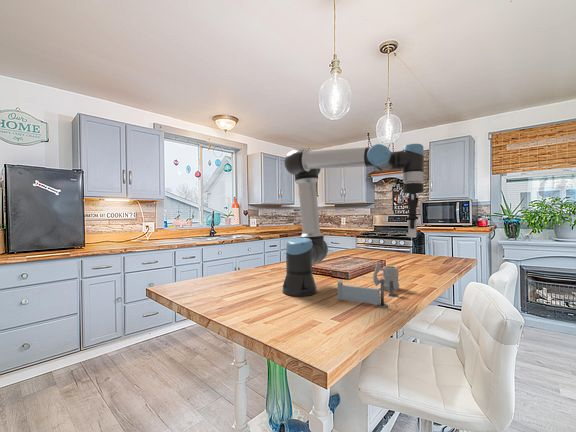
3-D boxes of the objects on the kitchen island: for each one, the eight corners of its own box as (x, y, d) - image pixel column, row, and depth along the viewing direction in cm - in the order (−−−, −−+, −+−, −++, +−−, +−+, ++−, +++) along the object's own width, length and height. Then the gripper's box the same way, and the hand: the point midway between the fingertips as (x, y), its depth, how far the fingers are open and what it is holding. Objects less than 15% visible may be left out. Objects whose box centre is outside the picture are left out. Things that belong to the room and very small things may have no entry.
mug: (401, 290, 124) (401, 264, 124) (375, 290, 125) (375, 264, 125) (396, 286, 132) (396, 261, 132) (371, 286, 133) (370, 261, 133)
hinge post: (375, 306, 104) (375, 279, 103) (377, 303, 107) (377, 277, 107) (387, 308, 102) (387, 280, 102) (388, 305, 105) (388, 278, 105)
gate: (337, 298, 111) (337, 280, 111) (338, 297, 113) (338, 279, 113) (379, 304, 104) (379, 285, 104) (379, 303, 106) (379, 283, 106)
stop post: (388, 296, 117) (388, 281, 117) (389, 293, 120) (389, 279, 120) (396, 297, 115) (396, 282, 115) (397, 294, 119) (397, 280, 119)
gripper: (423, 179, 99) (423, 239, 99) (423, 185, 121) (422, 234, 122) (401, 180, 102) (400, 238, 102) (404, 186, 125) (404, 233, 125)
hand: (412, 236), depth 112 cm, fingers open, 13 cm apart
